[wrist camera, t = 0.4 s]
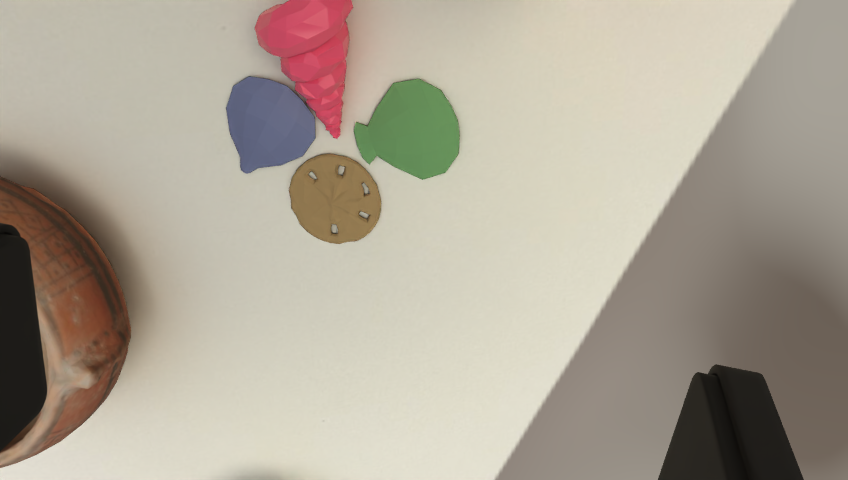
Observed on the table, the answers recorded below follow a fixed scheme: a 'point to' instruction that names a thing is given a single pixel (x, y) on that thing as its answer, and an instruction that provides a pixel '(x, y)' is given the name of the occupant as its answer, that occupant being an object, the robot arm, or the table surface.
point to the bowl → (66, 318)
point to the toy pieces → (333, 121)
